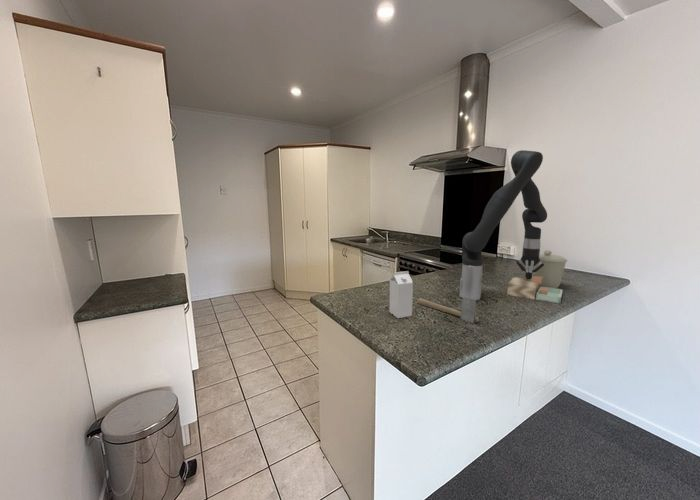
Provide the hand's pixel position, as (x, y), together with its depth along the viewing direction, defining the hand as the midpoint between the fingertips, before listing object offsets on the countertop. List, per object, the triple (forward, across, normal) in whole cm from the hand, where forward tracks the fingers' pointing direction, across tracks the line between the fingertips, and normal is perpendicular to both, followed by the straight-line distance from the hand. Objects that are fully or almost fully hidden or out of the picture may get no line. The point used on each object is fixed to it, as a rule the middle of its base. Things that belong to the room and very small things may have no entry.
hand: (528, 279), depth 144 cm
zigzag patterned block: (+7, -2, -4) cm, 8 cm away
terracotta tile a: (+4, +6, -7) cm, 10 cm away
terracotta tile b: (+1, +4, 0) cm, 4 cm away
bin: (+7, +10, -4) cm, 13 cm away
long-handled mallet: (+7, -24, -55) cm, 61 cm away
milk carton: (+7, -39, -69) cm, 79 cm away
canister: (+7, +6, +16) cm, 18 cm away
